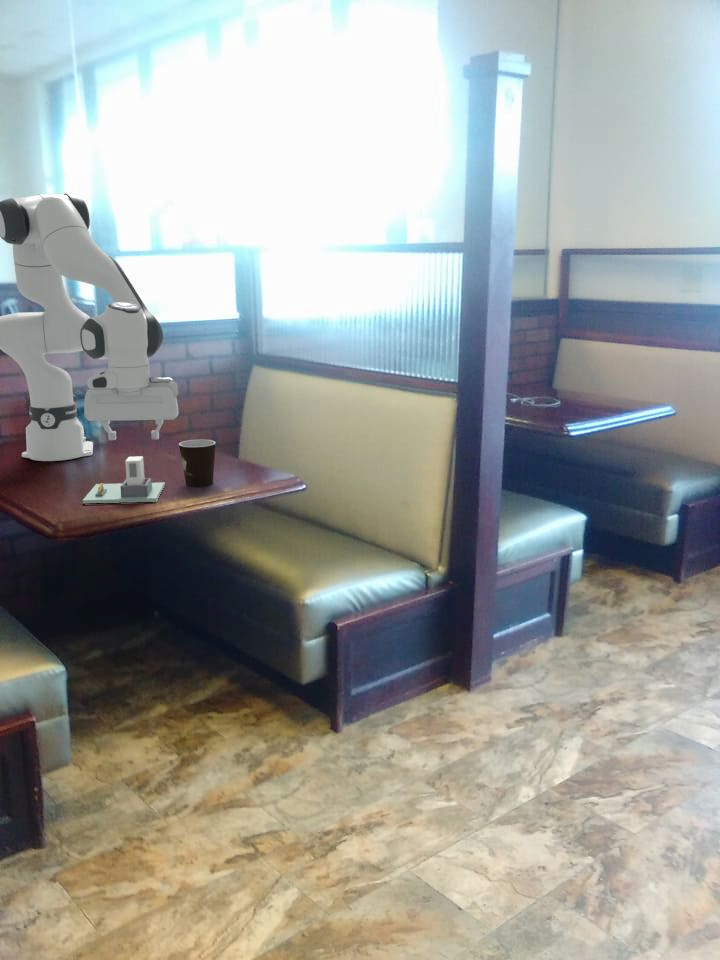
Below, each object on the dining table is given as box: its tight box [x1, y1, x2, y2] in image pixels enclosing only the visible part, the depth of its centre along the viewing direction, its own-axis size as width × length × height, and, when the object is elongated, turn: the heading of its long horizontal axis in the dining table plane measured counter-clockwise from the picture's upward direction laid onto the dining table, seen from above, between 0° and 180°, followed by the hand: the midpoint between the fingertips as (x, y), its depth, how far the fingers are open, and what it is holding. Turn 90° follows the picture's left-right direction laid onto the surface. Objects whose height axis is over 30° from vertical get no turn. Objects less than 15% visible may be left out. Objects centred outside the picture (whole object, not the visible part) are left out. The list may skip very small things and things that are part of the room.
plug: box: [124, 455, 145, 486], centre depth 197 cm, size 5×3×8 cm, turn 5°
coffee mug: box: [178, 439, 217, 488], centre depth 210 cm, size 12×9×10 cm
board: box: [82, 477, 166, 504], centre depth 200 cm, size 14×16×4 cm
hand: (133, 439), depth 196 cm, fingers open, 8 cm apart
